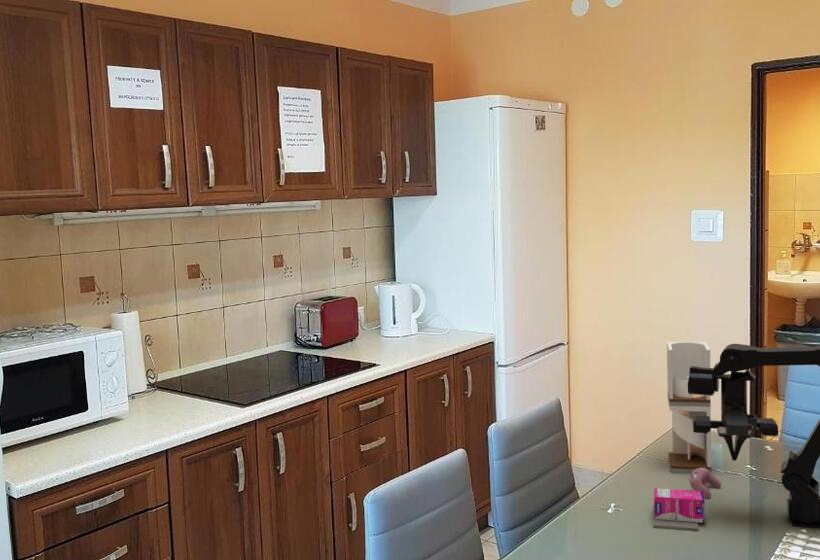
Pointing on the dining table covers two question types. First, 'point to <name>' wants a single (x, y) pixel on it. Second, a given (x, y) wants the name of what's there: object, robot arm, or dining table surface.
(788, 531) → the dining table surface
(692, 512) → the supplement box
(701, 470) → the video game controller
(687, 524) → the rubber mat
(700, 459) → the display case
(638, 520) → the dining table surface
